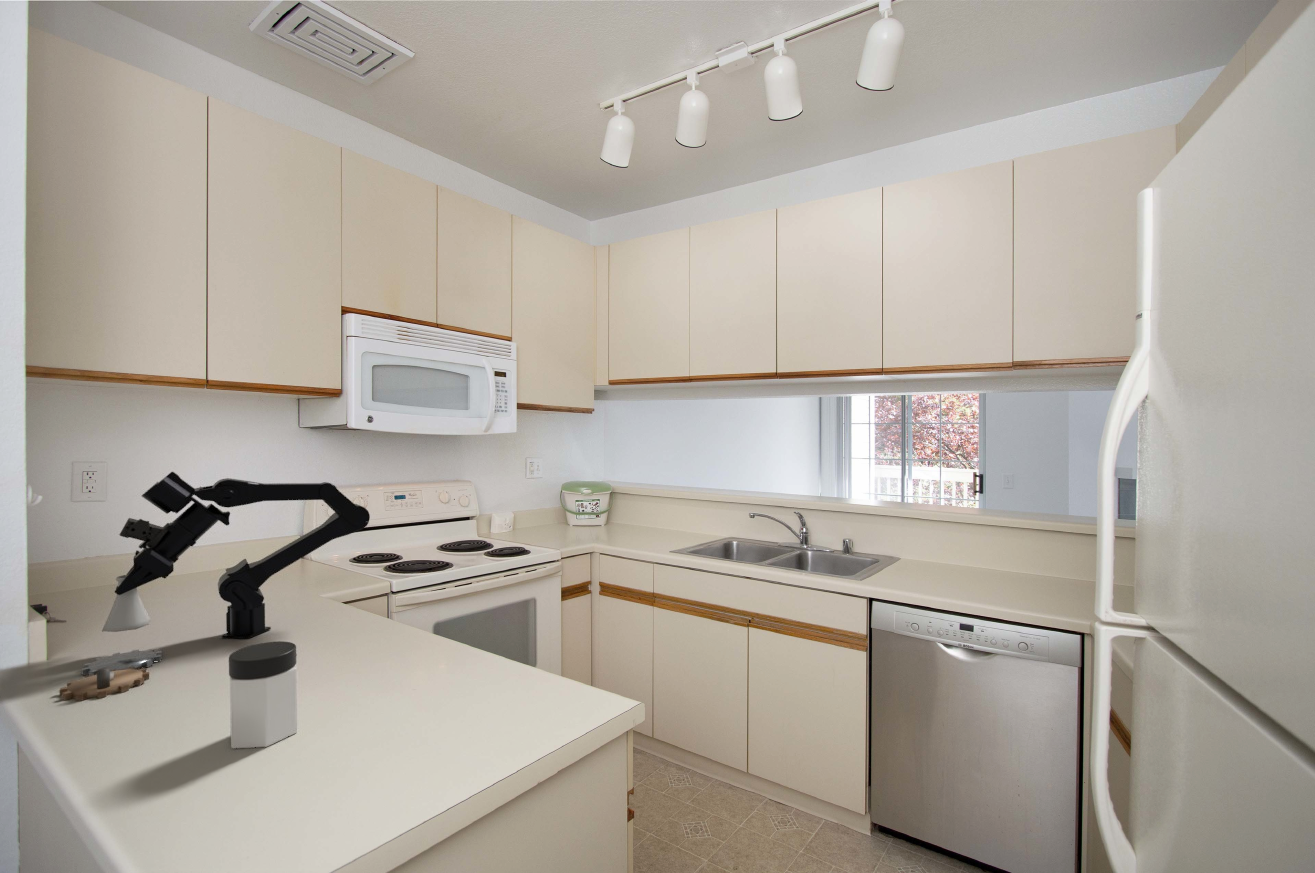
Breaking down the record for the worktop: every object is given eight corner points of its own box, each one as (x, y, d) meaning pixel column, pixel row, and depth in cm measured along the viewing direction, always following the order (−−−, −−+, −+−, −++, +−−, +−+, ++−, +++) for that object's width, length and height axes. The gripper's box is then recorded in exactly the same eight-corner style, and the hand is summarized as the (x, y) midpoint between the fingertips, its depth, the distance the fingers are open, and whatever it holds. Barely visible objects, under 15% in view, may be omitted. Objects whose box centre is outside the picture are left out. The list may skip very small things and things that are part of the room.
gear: (177, 655, 119) (177, 650, 119) (118, 678, 108) (118, 673, 108) (127, 652, 121) (127, 647, 121) (64, 675, 110) (63, 670, 110)
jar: (310, 719, 93) (309, 639, 92) (283, 747, 84) (282, 659, 84) (247, 722, 92) (246, 641, 92) (213, 750, 84) (212, 662, 83)
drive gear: (165, 674, 110) (165, 652, 110) (100, 702, 99) (99, 677, 99) (111, 671, 112) (111, 649, 112) (41, 698, 101) (40, 673, 100)
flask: (138, 632, 118) (138, 579, 118) (93, 634, 116) (93, 581, 116) (158, 620, 125) (158, 570, 125) (116, 622, 123) (116, 572, 123)
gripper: (152, 499, 130) (82, 558, 123) (149, 507, 115) (69, 575, 109) (200, 532, 135) (135, 591, 128) (202, 544, 120) (129, 611, 113)
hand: (117, 591), depth 119 cm, fingers closed on flask, 3 cm apart
